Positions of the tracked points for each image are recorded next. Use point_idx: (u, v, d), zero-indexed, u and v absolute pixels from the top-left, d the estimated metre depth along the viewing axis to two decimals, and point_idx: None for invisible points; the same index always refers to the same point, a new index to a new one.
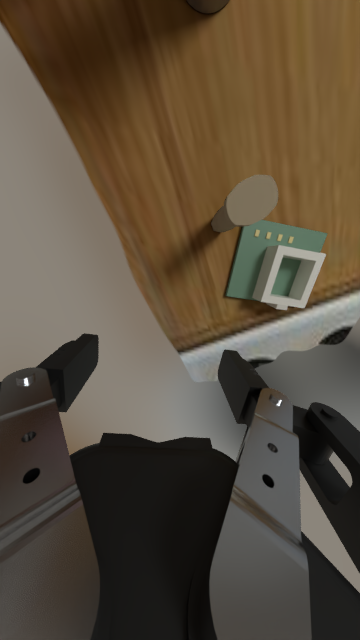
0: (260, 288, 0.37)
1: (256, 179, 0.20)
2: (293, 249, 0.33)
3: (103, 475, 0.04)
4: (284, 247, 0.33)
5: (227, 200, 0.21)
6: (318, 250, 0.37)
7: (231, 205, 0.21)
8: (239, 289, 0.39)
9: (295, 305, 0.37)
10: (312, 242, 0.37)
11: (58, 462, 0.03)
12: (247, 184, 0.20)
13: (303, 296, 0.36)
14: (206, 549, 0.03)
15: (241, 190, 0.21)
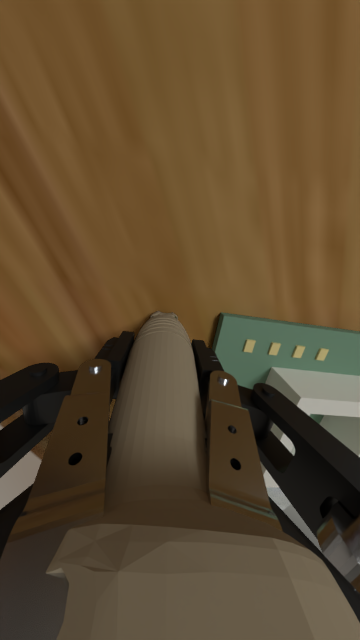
0: None
1: None
2: (335, 403, 0.14)
3: None
4: (314, 400, 0.13)
5: None
6: None
7: None
8: None
9: None
10: None
11: (96, 454, 0.04)
12: None
13: None
14: None
15: None
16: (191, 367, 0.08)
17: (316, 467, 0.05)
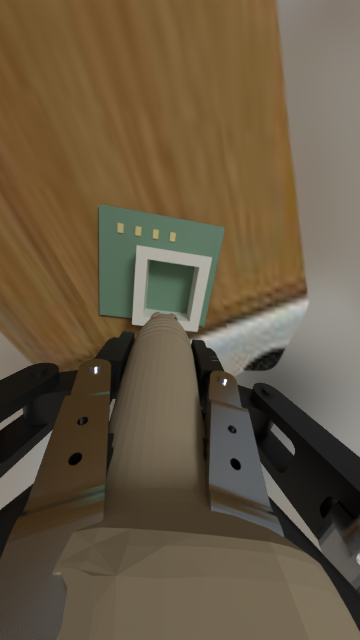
0: None
1: None
2: (160, 251, 0.23)
3: None
4: (146, 248, 0.22)
5: None
6: (216, 251, 0.27)
7: None
8: (115, 305, 0.29)
9: (183, 328, 0.27)
10: (205, 240, 0.26)
11: (97, 454, 0.04)
12: None
13: (192, 316, 0.26)
14: None
15: None
16: (190, 368, 0.08)
17: (316, 467, 0.05)
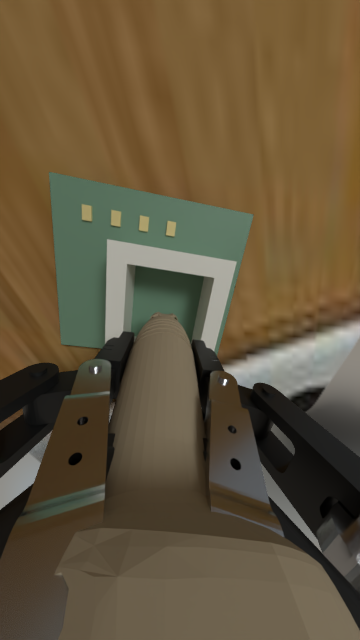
0: None
1: None
2: (149, 250, 0.13)
3: None
4: (124, 245, 0.13)
5: None
6: (238, 252, 0.17)
7: None
8: (84, 331, 0.19)
9: None
10: (222, 234, 0.17)
11: (97, 454, 0.04)
12: None
13: None
14: None
15: None
16: (191, 369, 0.08)
17: (316, 467, 0.05)
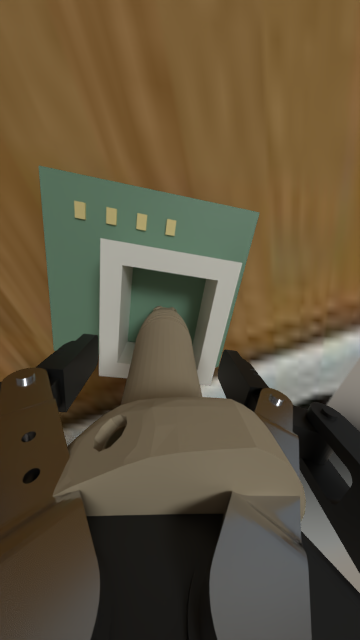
0: None
1: (166, 473, 0.03)
2: (147, 250, 0.12)
3: None
4: (119, 245, 0.12)
5: None
6: (243, 252, 0.16)
7: None
8: (78, 336, 0.18)
9: None
10: (226, 234, 0.16)
11: (58, 462, 0.03)
12: (114, 495, 0.03)
13: (202, 362, 0.15)
14: (206, 549, 0.03)
15: None
16: (189, 345, 0.10)
17: None
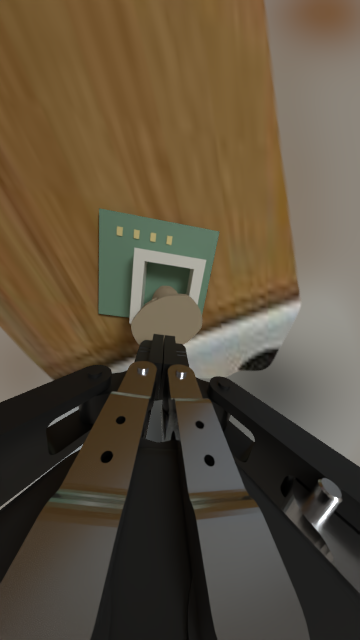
0: None
1: (168, 301, 0.15)
2: (157, 253, 0.24)
3: None
4: (143, 250, 0.24)
5: (132, 325, 0.15)
6: (211, 254, 0.28)
7: (138, 331, 0.15)
8: (114, 304, 0.30)
9: None
10: (200, 243, 0.27)
11: (125, 459, 0.04)
12: (157, 307, 0.15)
13: None
14: (186, 589, 0.03)
15: (149, 314, 0.15)
16: None
17: (275, 451, 0.05)
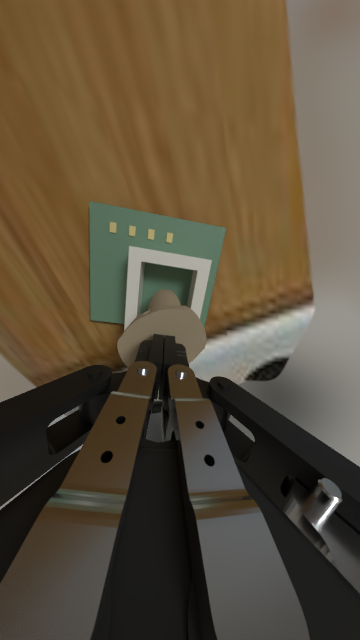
0: None
1: (164, 316, 0.12)
2: (155, 252, 0.21)
3: None
4: (139, 249, 0.20)
5: (119, 345, 0.12)
6: (216, 253, 0.25)
7: (127, 351, 0.12)
8: (107, 310, 0.27)
9: None
10: (205, 241, 0.24)
11: (126, 459, 0.04)
12: (150, 323, 0.12)
13: None
14: (187, 589, 0.03)
15: (140, 331, 0.12)
16: (177, 305, 0.19)
17: (275, 452, 0.05)
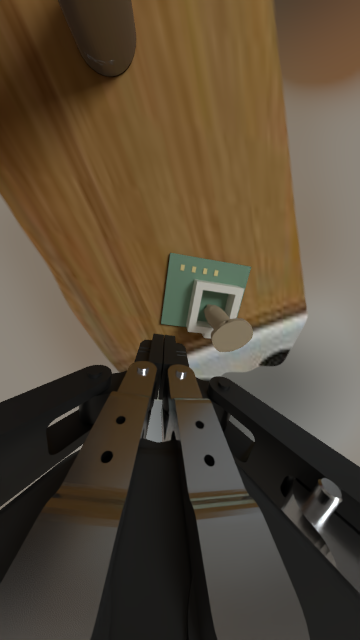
0: (188, 318, 0.39)
1: (235, 323, 0.26)
2: (212, 285, 0.35)
3: None
4: (203, 283, 0.35)
5: (213, 337, 0.27)
6: (244, 282, 0.39)
7: (216, 340, 0.27)
8: (172, 317, 0.41)
9: None
10: (237, 275, 0.39)
11: (126, 459, 0.04)
12: (228, 327, 0.26)
13: None
14: (187, 589, 0.03)
15: (223, 330, 0.26)
16: (227, 316, 0.33)
17: (275, 451, 0.05)
